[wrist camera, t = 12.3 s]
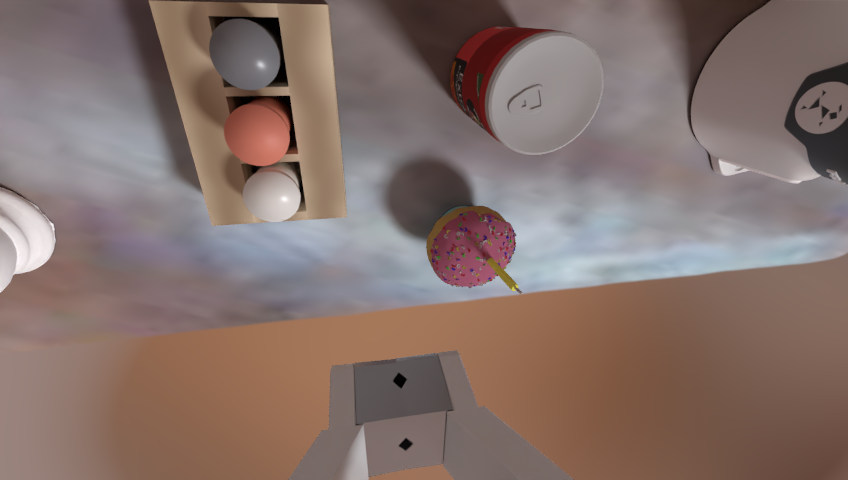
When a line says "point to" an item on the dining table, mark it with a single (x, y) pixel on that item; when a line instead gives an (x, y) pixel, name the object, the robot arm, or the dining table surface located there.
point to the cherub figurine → (22, 236)
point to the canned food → (528, 86)
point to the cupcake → (471, 247)
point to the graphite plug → (246, 53)
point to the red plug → (259, 131)
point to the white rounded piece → (274, 191)
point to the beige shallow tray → (216, 98)
